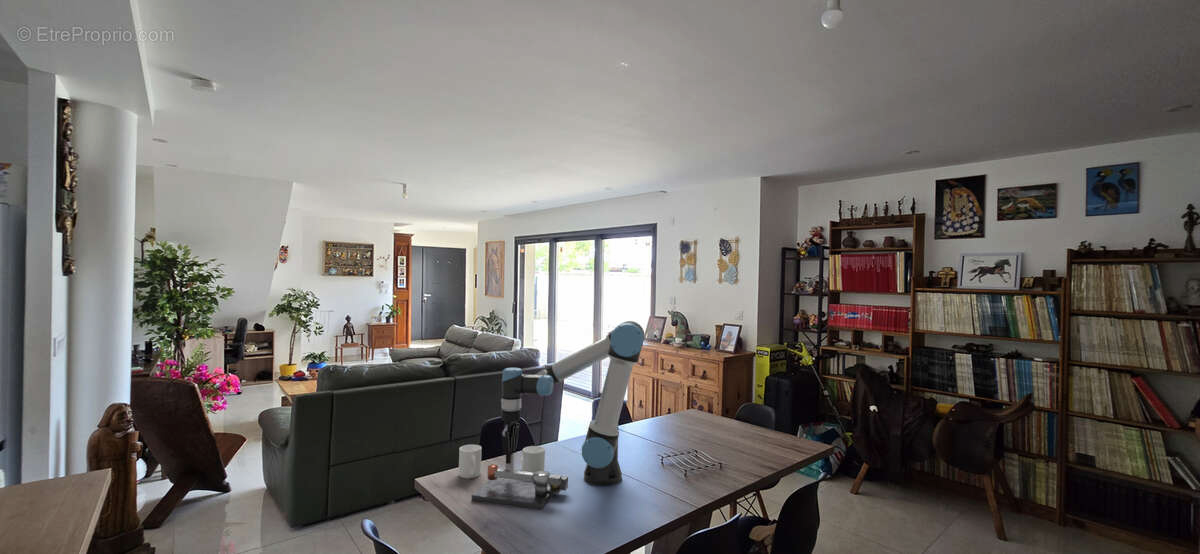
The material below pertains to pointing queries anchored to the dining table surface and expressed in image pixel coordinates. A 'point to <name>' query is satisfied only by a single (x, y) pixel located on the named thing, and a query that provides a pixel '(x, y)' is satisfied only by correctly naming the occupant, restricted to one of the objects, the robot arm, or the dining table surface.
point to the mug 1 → (470, 461)
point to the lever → (523, 476)
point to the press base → (518, 493)
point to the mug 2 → (533, 459)
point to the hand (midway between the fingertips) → (509, 470)
